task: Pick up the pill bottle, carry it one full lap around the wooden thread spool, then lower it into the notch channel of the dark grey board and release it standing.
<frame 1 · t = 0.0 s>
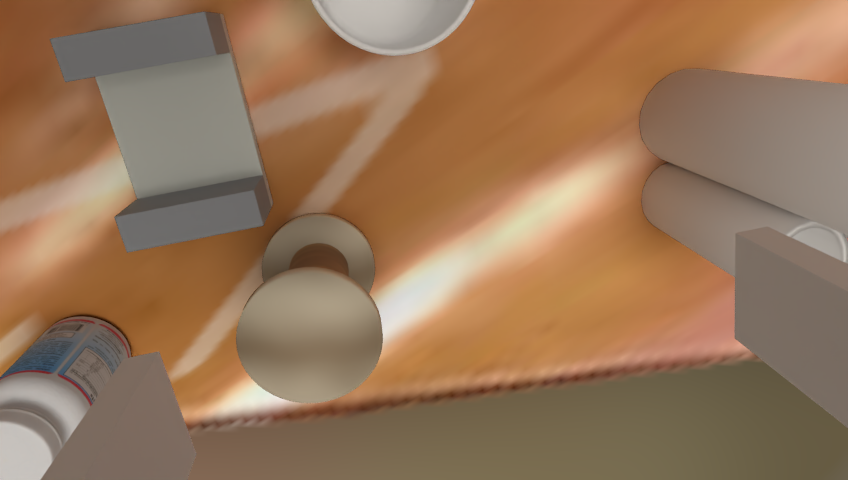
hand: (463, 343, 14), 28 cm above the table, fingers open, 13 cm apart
pill bottle: (90, 351, 43), on the table
wooden thread spool: (319, 265, 42), on the table
notch board: (186, 125, 38), on the table
vase: (686, 149, 43), on the table
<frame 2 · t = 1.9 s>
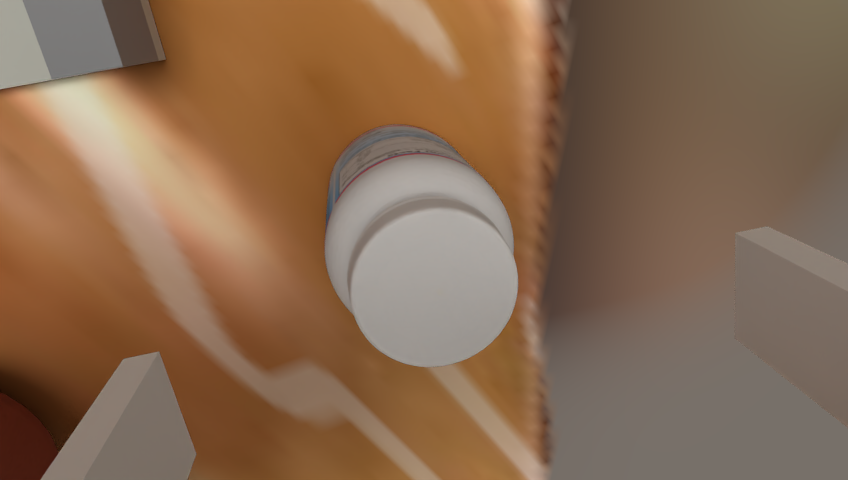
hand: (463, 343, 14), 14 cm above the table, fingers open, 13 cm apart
pill bottle: (398, 188, 27), on the table
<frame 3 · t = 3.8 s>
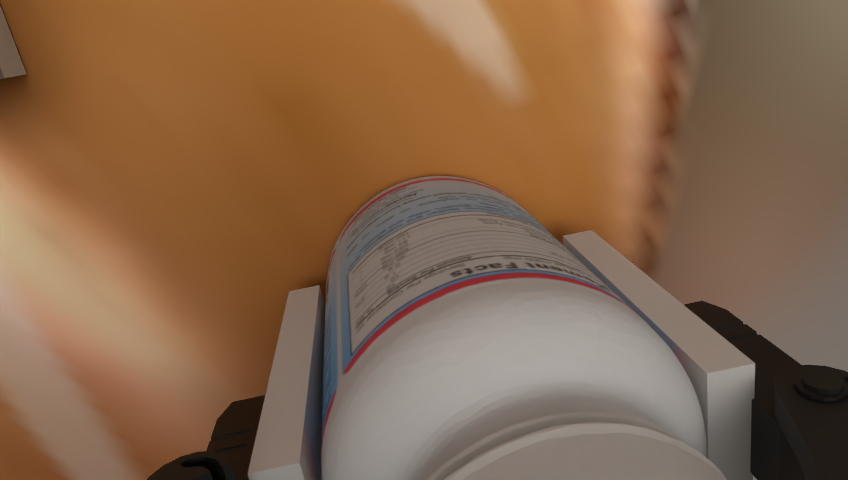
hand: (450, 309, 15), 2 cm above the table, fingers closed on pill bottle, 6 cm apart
pill bottle: (436, 271, 17), on the table, touching gripper
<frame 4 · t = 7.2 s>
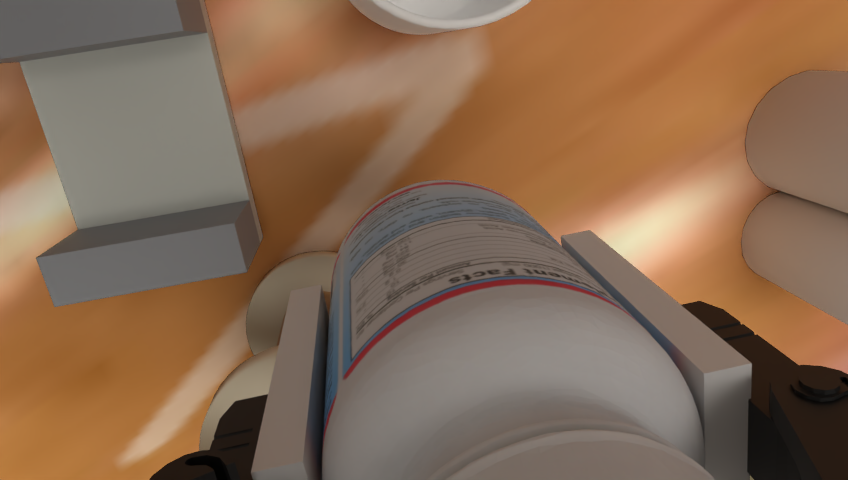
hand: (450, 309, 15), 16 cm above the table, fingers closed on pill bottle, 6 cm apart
pill bottle: (440, 274, 17), point 14 cm above the table, touching gripper
wooden thread spool: (322, 318, 32), on the table
notch board: (147, 131, 28), on the table
vase: (802, 176, 33), on the table
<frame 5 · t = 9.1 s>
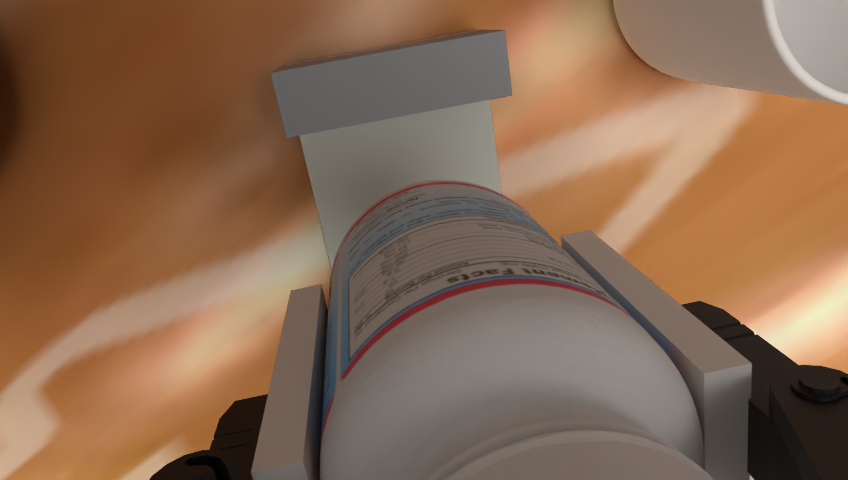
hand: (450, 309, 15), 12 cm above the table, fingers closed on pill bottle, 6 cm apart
pill bottle: (439, 274, 17), point 11 cm above the table, touching gripper
notch board: (406, 185, 27), on the table
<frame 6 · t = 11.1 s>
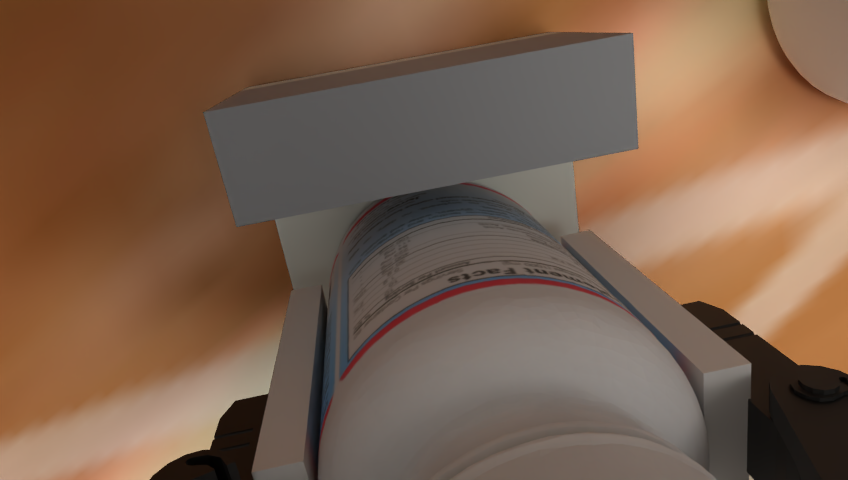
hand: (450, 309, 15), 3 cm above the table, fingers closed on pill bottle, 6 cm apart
pill bottle: (440, 275, 17), point 1 cm above the table, touching gripper, notch board
notch board: (436, 269, 18), on the table
when the fingers open (3 cm above the table, at t = 11.1 s): pill bottle stays where it is, resting on notch board.
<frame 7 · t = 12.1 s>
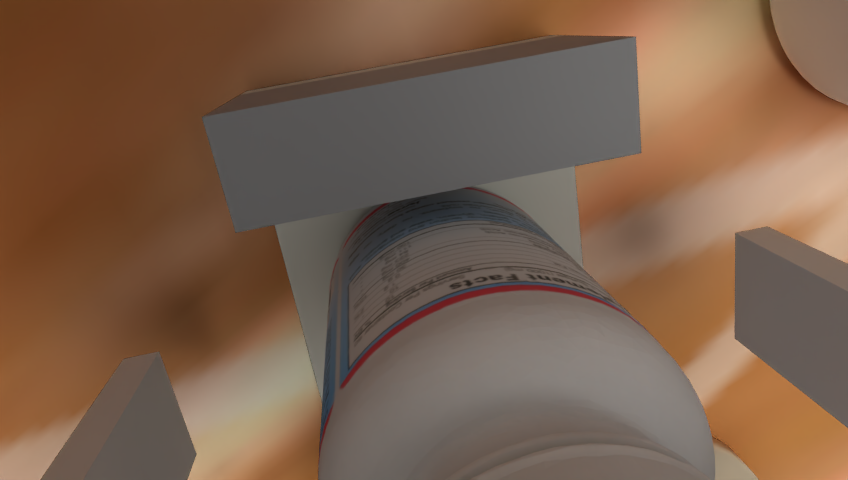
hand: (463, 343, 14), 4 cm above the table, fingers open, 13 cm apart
pill bottle: (441, 280, 17), point 1 cm above the table, touching notch board
notch board: (437, 273, 18), on the table
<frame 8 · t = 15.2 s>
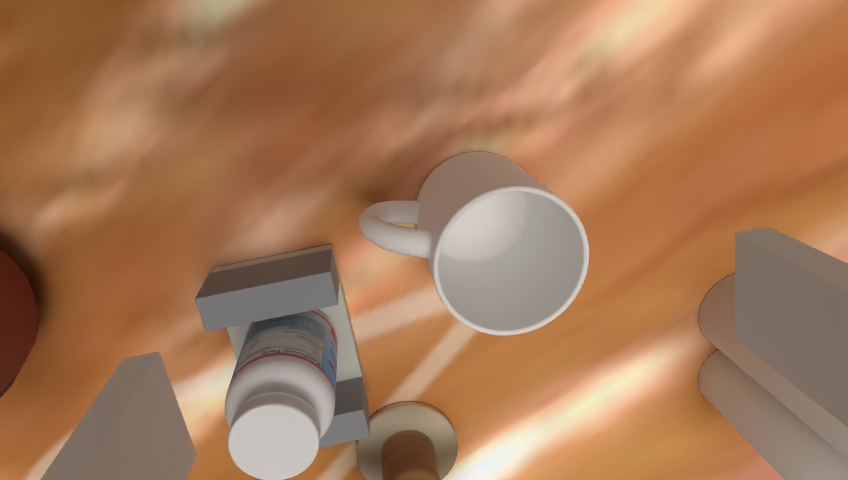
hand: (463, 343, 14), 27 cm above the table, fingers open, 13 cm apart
pill bottle: (293, 338, 42), point 1 cm above the table, touching notch board
wooden thread spool: (406, 443, 46), on the table
potted plant: (13, 293, 39), on the table
notch board: (294, 334, 42), on the table
vase: (740, 336, 47), on the table
mug: (446, 205, 41), on the table
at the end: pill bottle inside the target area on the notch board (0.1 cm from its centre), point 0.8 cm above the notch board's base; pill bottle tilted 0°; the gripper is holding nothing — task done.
